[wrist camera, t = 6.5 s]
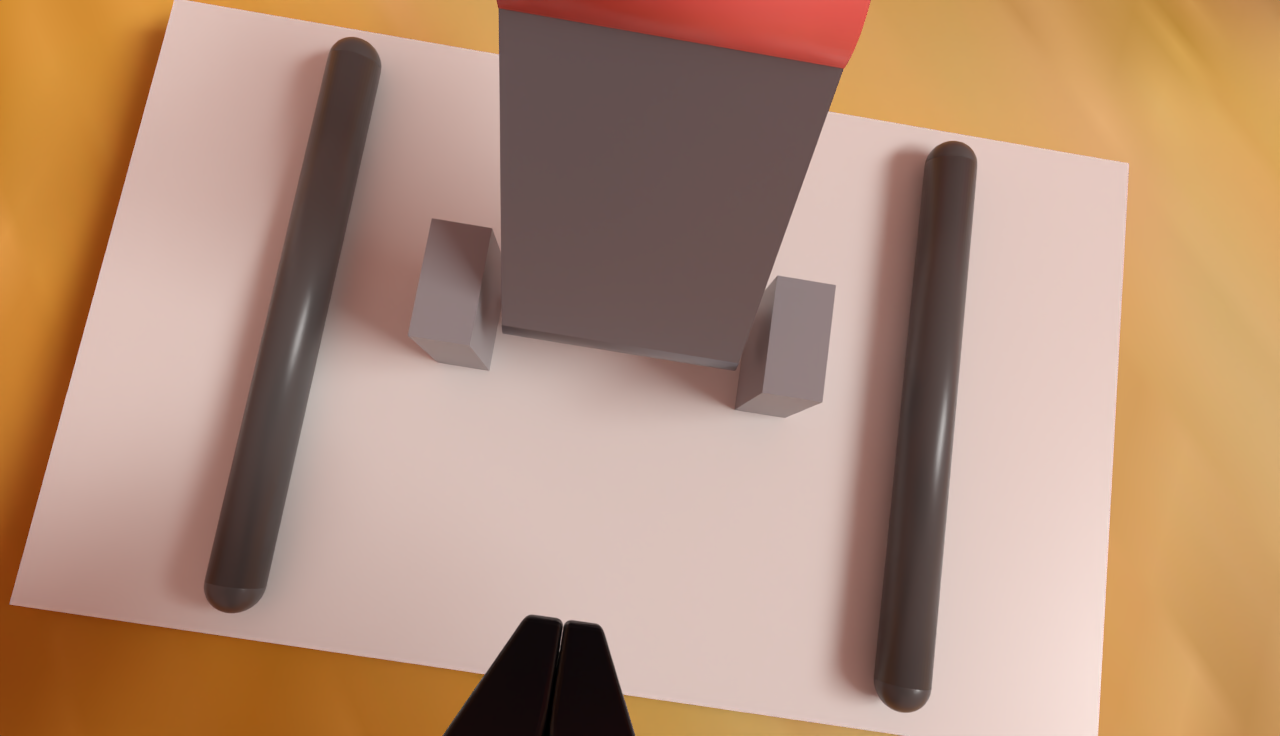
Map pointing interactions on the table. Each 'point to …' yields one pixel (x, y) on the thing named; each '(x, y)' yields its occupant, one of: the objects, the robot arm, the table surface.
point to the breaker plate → (589, 408)
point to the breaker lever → (657, 163)
